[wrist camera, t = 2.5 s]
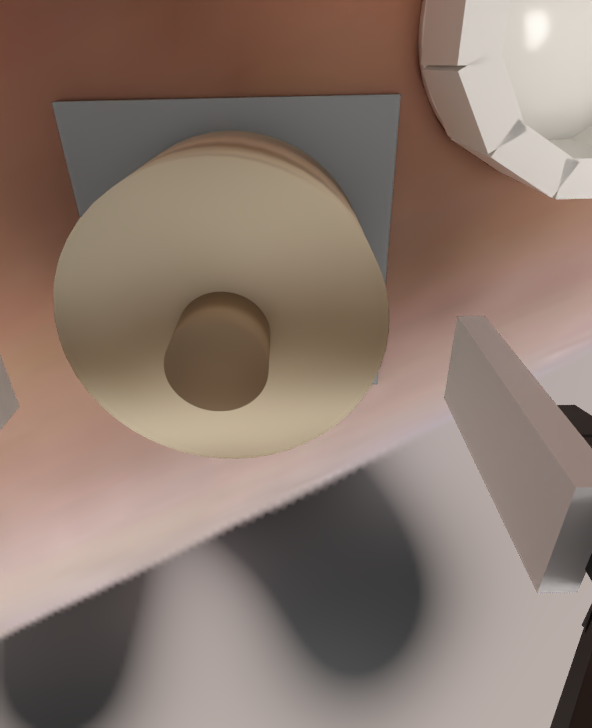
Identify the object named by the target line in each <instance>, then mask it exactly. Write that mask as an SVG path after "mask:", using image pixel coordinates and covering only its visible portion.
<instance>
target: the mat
mask: <svg viewBox="0 0 592 728" xmlns="http://www.w3.org/2000/svg"><path fill="white" fill-rule="evenodd" d="M400 98H401V94H369V95H324V96H279V97H234V98H188V99H143V100H98V101H56V102H52V106H53V110H54V114H55V118H56V122H57V126H58V131H59V135H60V139H61V143H62V147H63V151H64V155H65V159H66V163H67V167H68V171H69V175H70V179H71V183H72V188H73V192H74V196H75V200H76V204H77V208H78V212H79V216H80V218H81V217H82V215H83V214H84V213H85V212H86V211H87V210H88V208H89V207H90V206H91V205H92V204H93V203H94V202H95V201H96V200H97V199H99V198H100V197H101V196H102V195H103V194H105V193H106V192H107V191H108V190H109V189H111V188H112V187H113V186H115V185H116V184H117V183H119V182H120V181H122V180H123V179H125V178H126V177H127V176H129V175H130V174H132V173H133V172H134V171H136V170H137V169H139V168H140V167H141V166H143V165H144V164H146V163H147V162H149V161H150V160H151V159H153V158H154V157H156V156H157V155H158V154H160V153H161V152H163V151H165V150H166V149H168V148H169V147H171V146H173V145H174V144H176V143H178V142H181V141H183V140H186V139H188V138H191V137H193V136H197V135H201V134H205V133H209V132H217V131H227V130H232V131H249V132H254V133H259V134H264V135H268V136H271V137H274V138H277V139H280V140H282V141H285V142H287V143H289V144H291V145H293V146H295V147H297V148H299V149H300V150H302V151H303V152H305V153H306V154H308V155H309V156H310V157H312V158H313V159H315V160H316V161H317V162H318V163H319V164H320V165H321V166H322V167H324V168H325V169H326V170H327V171H328V172H329V173H330V175H331V176H332V177H333V178H334V179H335V181H336V182H337V183H338V184H339V185H340V187H341V189H342V190H343V192H344V194H345V195H346V197H347V198H348V200H349V202H350V204H351V206H352V209H353V211H354V213H355V215H356V217H357V219H358V222H359V224H360V226H361V228H362V230H363V232H364V235H365V237H366V239H367V241H368V243H369V245H370V247H371V250H372V252H373V254H374V256H375V259H376V261H377V263H378V265H379V267H380V270H381V273H382V276H383V280H384V283H385V282H386V270H387V258H388V245H389V233H390V221H391V208H392V196H393V184H394V171H395V159H396V147H397V134H398V122H399V110H400ZM377 381H378V373H377V375H376V377H375V379H374V381H373V383H372V384H377Z"/></svg>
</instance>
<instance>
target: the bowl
mask: <svg viewBox="0 0 592 728" xmlns="http://www.w3.org/2000/svg"><path fill="white" fill-rule="evenodd" d="M418 49H419V63H420V70H421V75H422V80H423V85H424V88H425V91H426V94H427V97H428V100H429V102H430V104H431V106H432V109H433V111H434V113H435V115H436V117H437V118H438V120H439V121H440V123H441V124H442V125H443V127H444V128H445V130H446V133H447V135H448V136H449V137H451V138H450V139H451V140H453V141H454V142H456V143H457V144H459V145H460V146H462V147H463V148H465V149H466V150H468V151H469V152H471V153H472V154H474V155H475V156H477V157H478V158H480V159H481V160H483V161H484V162H486V163H487V164H489V165H490V166H492V167H493V168H495V169H496V170H498V171H499V172H501V173H503V174H505V175H507V176H509V177H511V178H513V179H515V180H517V181H519V182H521V183H523V184H525V185H527V186H529V187H531V188H533V189H535V190H537V191H538V192H540V193H542V194H544V195H546V196H548V197H550V198H554V199H589V198H592V0H423V2H422V8H421V15H420V21H419V39H418Z"/></svg>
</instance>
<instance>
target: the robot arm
mask: <svg viewBox="0 0 592 728" xmlns="http://www.w3.org/2000/svg"><path fill="white" fill-rule="evenodd" d="M444 398H445V401H446V403H447V405H448V407H449V409H450V411H451V413H452V415H453V417H454V419H455V422H456V424H457V426H458V428H459V430H460V432H461V434H462V436H463V438H464V440H465V443H466V445H467V447H468V449H469V451H470V453H471V455H472V457H473V459H474V461H475V463H476V466H477V468H478V470H479V472H480V474H481V476H482V478H483V480H484V482H485V484H486V487H487V488H488V491H489V493H490V495H491V497H492V499H493V501H494V503H495V505H496V508H497V510H498V512H499V514H500V516H501V518H502V520H503V522H504V524H505V526H506V528H507V530H508V533H509V535H510V537H511V539H512V541H513V543H514V545H515V547H516V549H517V552H518V554H519V556H520V558H521V560H522V562H523V564H524V566H525V568H526V570H527V572H528V574H529V577H530V579H531V581H532V583H533V585H534V587H535V589H536V591H537V593H563V592H564V593H565V592H578V589H579V587H580V585H581V582H582V580H583V578H584V575H585V573H586V572H587V574H588V575H589V577H590V579H591V580H592V416H591V415H590V414H588V413H587V412H585V411H583V410H582V409H580V408H579V407H577V406H576V405H556V403H555V402H554V401H553V400H552V399H551V397H550V396H549V395H548V394H547V392H546V391H545V390H544V389H543V387H542V386H541V385H540V384H539V382H538V381H537V380H536V379H535V377H534V376H533V375H532V374H531V373H530V371H529V370H528V369H527V368H526V366H525V365H524V364H523V363H522V361H521V360H520V359H519V358H518V356H517V355H516V354H515V353H514V351H513V350H512V349H511V348H510V347H509V345H508V344H507V343H506V342H505V340H504V339H503V338H502V337H501V335H500V334H499V333H498V332H497V330H496V329H495V328H494V327H493V326H492V324H491V323H490V322H489V321H488V319H487V318H486V317H485V316H457V322H456V328H455V334H454V340H453V346H452V353H451V359H450V365H449V371H448V377H447V383H446V390H445V396H444ZM18 408H19V404H18V401H17V399H16V396H15V393H14V390H13V388H12V385H11V382H10V380H9V377H8V374H7V372H6V369H5V366H4V364H3V361H2V358H1V355H0V430H1V429H2V427H3V426H4V425H5V424H6V423H7V421H8V420H9V419H10V418H11V416H12V415H13V414H14V413H15V412H16V410H17V409H18ZM582 626H583V627H584V629H583V632H582V635H581V638H580V641H579V644H578V647H577V650H576V653H575V656H574V659H573V662H572V665H571V668H570V671H569V674H568V677H567V679H566V682H565V685H564V688H563V691H562V695H561V697H560V700H559V703H558V706H557V709H556V712H555V715H554V718H553V721H552V724H551V727H550V728H592V604H591V606H590V608H589V611H588V613H587V615H586V617H585V619H584V621H583V623H582Z"/></svg>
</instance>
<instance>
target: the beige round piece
mask: <svg viewBox="0 0 592 728" xmlns="http://www.w3.org/2000/svg"><path fill="white" fill-rule="evenodd" d="M53 305H54V317H55V323H56V327H57V331H58V336H59V340H60V342H61V345H62V347H63V350H64V353H65V355H66V358H67V359H68V361H69V363H70V365H71V367H72V369H73V371H74V372H75V374H76V376H77V377H78V379H79V380H80V381H81V383H82V384H83V386H84V387H85V388H86V390H87V391H88V392H89V393H90V394H91V395H92V397H93V398H94V399H95V400H96V401H97V402H98V403H99V404H100V405H101V406H102V407H103V408H104V409H105V410H106V411H107V412H109V413H110V414H111V415H112V416H113V417H114V418H116V419H117V420H118V421H120V422H121V423H123V424H124V425H125V426H127V427H128V428H130V429H131V430H133V431H135V432H137V433H138V434H140V435H142V436H144V437H145V438H147V439H150V440H152V441H154V442H156V443H159V444H161V445H163V446H166V447H169V448H172V449H175V450H178V451H181V452H185V453H190V454H194V455H199V456H205V457H213V458H232V459H239V458H253V457H260V456H266V455H271V454H276V453H279V452H283V451H286V450H290V449H293V448H295V447H297V446H300V445H302V444H305V443H307V442H309V441H311V440H313V439H315V438H317V437H318V436H320V435H322V434H324V433H325V432H327V431H328V430H329V429H331V428H332V427H334V426H335V425H337V424H338V423H339V422H340V421H341V420H342V419H344V418H345V417H346V416H347V415H348V414H349V413H350V412H351V411H352V410H353V409H354V408H355V407H356V405H357V404H358V403H359V402H360V401H361V400H362V398H363V397H364V395H365V394H366V392H367V391H368V389H369V388H370V386H371V385H372V383H373V381H374V379H375V377H376V375H377V373H378V371H379V369H380V366H381V363H382V360H383V357H384V354H385V351H386V346H387V340H388V333H389V305H388V297H387V290H386V287H385V283H384V280H383V276H382V273H381V270H380V267H379V265H378V263H377V261H376V259H375V256H374V254H373V252H372V250H371V247H370V245H369V243H368V241H367V239H366V237H365V235H364V232H363V230H362V228H361V226H360V224H359V222H358V219H357V217H356V215H355V213H354V211H353V209H352V206H351V204H350V202H349V200H348V198H347V197H346V195H345V194H344V192H343V190H342V189H341V187H340V185H339V184H338V183H337V182H336V181H335V179H334V178H333V177H332V176H331V175H330V173H329V172H328V171H327V170H326V169H325V168H324V167H322V166H321V165H320V164H319V163H318V162H317V161H316V160H315V159H313V158H312V157H310V156H309V155H308V154H306V153H305V152H303V151H302V150H300V149H299V148H297V147H295V146H293V145H291V144H289V143H287V142H285V141H282V140H280V139H277V138H274V137H271V136H268V135H264V134H259V133H254V132H249V131H232V130H227V131H217V132H209V133H205V134H201V135H197V136H193V137H191V138H188V139H186V140H183V141H181V142H178V143H176V144H174V145H173V146H171V147H169V148H168V149H166V150H165V151H163V152H161V153H160V154H158V155H157V156H156V157H154V158H153V159H151V160H150V161H149V162H147V163H146V164H144V165H143V166H141V167H140V168H139V169H137V170H136V171H134V172H133V173H132V174H130V175H129V176H127V177H126V178H125V179H123V180H122V181H120V182H119V183H117V184H116V185H115V186H113V187H112V188H111V189H109V190H108V191H107V192H106V193H105V194H103V195H102V196H101V197H100V198H99V199H97V200H96V201H95V202H94V203H93V204H92V205H91V206H90V207H89V208H88V210H87V211H86V212H85V213H84V214H83V215H82V217H81V218H80V219H79V220H78V222H77V223H76V225H75V227H74V228H73V230H72V231H71V233H70V235H69V236H68V238H67V240H66V243H65V245H64V247H63V250H62V252H61V255H60V257H59V261H58V265H57V269H56V274H55V278H54V291H53Z"/></svg>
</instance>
